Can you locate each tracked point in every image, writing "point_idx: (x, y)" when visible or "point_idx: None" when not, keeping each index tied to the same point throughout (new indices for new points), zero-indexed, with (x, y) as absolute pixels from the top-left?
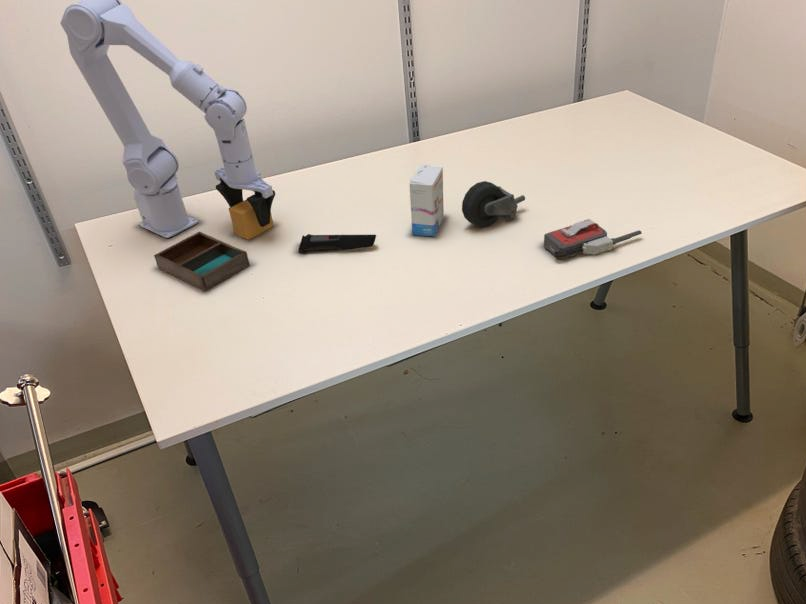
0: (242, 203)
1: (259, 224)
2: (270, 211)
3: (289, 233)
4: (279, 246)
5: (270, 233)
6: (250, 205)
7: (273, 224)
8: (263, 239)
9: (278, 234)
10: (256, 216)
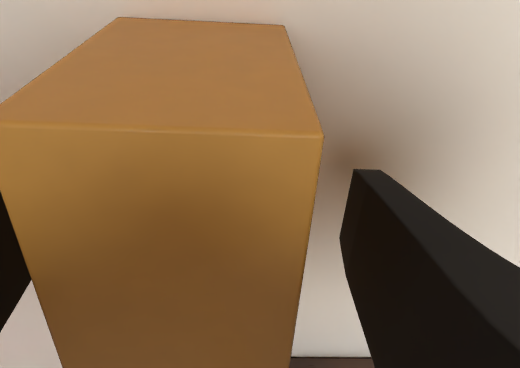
0: (94, 341)
1: (344, 256)
2: (456, 230)
3: (476, 46)
4: (488, 201)
5: (335, 122)
6: (217, 331)
7: (285, 30)
8: (342, 195)
9: (399, 102)
10: (368, 338)
